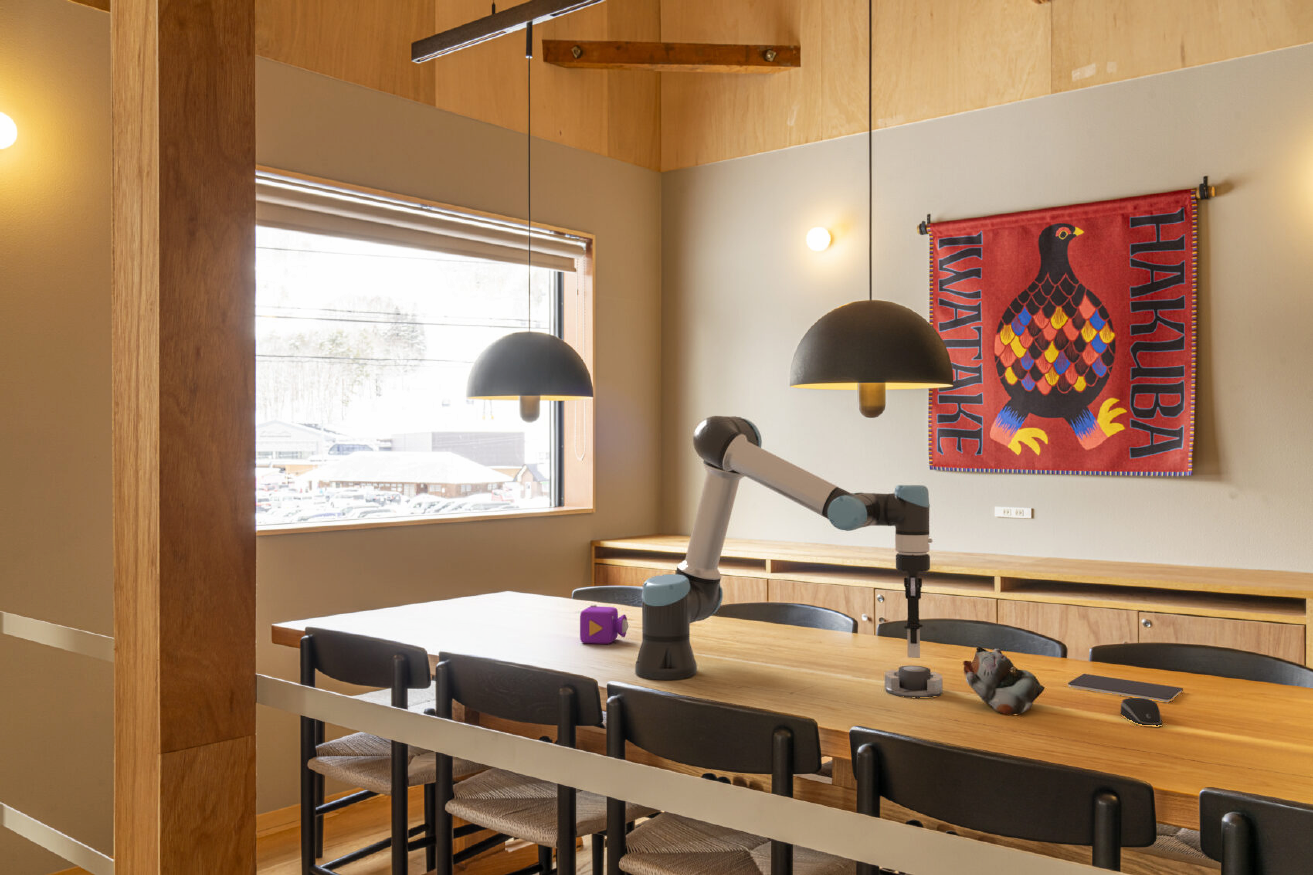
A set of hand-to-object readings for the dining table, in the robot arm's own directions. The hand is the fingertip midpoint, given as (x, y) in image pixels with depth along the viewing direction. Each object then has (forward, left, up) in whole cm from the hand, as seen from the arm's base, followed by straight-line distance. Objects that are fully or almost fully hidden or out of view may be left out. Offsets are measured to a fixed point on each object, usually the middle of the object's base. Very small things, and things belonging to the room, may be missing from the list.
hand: (913, 656), depth 215 cm
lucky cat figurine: (0, -20, -8) cm, 22 cm away
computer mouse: (+9, -45, -8) cm, 47 cm away
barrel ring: (0, 0, -8) cm, 8 cm away
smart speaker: (0, 0, -7) cm, 7 cm away
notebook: (+32, -36, -9) cm, 49 cm away
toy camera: (-5, +92, -8) cm, 93 cm away
